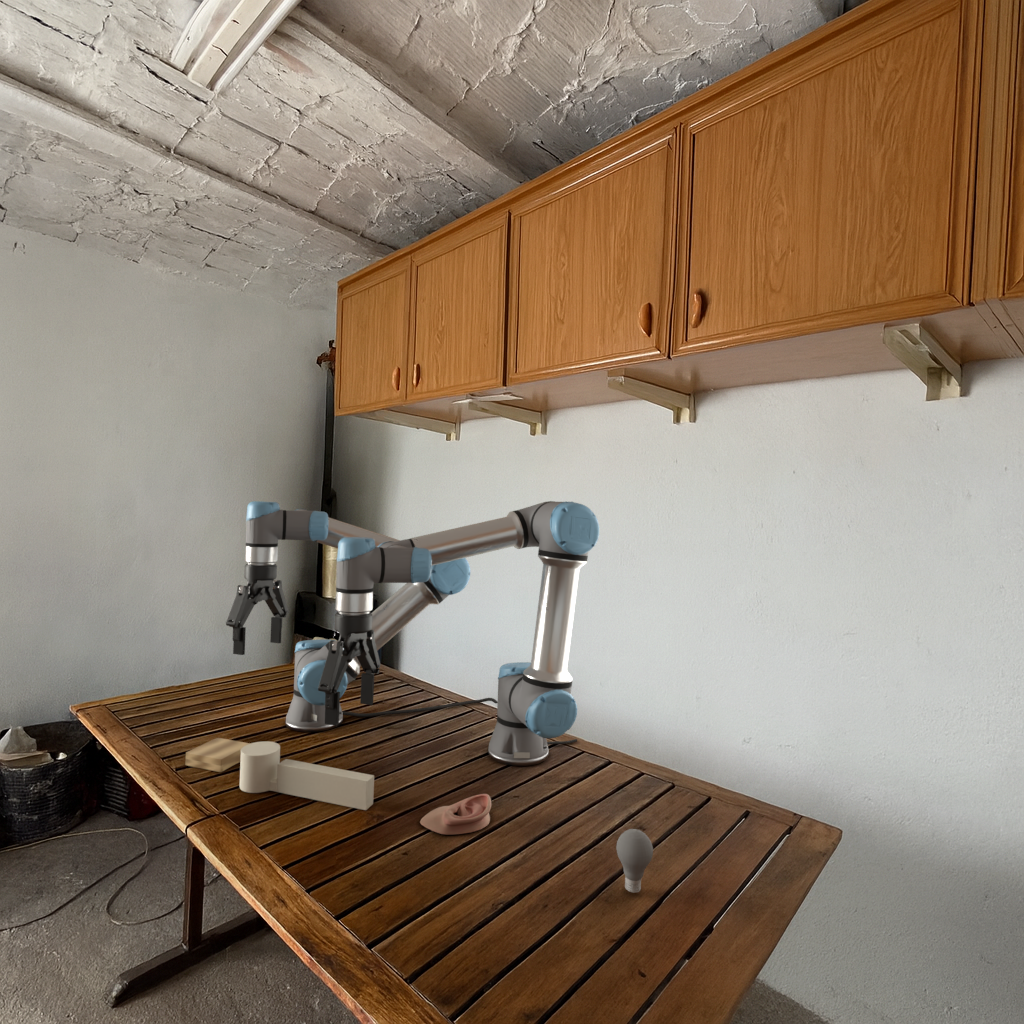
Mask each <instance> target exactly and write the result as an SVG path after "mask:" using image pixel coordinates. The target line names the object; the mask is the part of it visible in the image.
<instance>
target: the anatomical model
mask: <svg viewBox="0 0 1024 1024" xmlns="http://www.w3.org/2000/svg"><path fill="white" fill-rule="evenodd" d="M491 809H492V798H491V796H490V795H489V794H488V793H479V794H476V795H472V796H469V797H467V798H463V799H462V800H460V801H457V802H455V803H453V804H450V805H442V806H439V807H437V808H434V809H432V810H430V811H429V812H428V813H426V814H425V815H424V816H423V817H422V818H421V819H420V821H419V823H420V825H421V826H423V827H424V828H426V829H428V830H430V831H432V832H433V833H434V832H435V833H437V834H441V835H446V836H448V835H449V836H450V835H463V834H469V833H473V832H477V831H480V830H483V829H484V828H485V827H487V826H488V825H489V824H490V822H491V815H490V811H491Z"/></svg>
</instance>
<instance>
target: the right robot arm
mask: <svg viewBox="0 0 1024 1024" xmlns="http://www.w3.org/2000/svg"><path fill="white" fill-rule="evenodd" d="M600 530H601V529H600V524H599V520H598V517H597V515H596V514H595V513H594V511H593V510H592V509H591V508H590V507H588V506H586V505H585V504H582V503H579V502H575V501H554V500H550V501H543V502H540V503H537V504H533V505H529V506H526V507H524V508H520V509H517V510H512V511H509V512H508V513H507V514H506V516H503V517H498V518H495V519H491V520H486V521H481V522H477V523H471V524H468V525H464V526H460V527H459V526H458V527H454V528H451V529H445V530H440V531H436V532H432V533H428V534H422V535H419V536H414V537H410V538H406V539H400V541H396V542H392V541H388V542H384V543H381V544H380V545H379V546H377V547H376V545H375V540H374V539H373V538H366V537H345V538H342V539H341V540H340V541H339V543H338V548H337V555H336V572H335V573H336V575H335V576H336V577H335V607H334V608H335V611H337V612H336V613H334V631H335V632H337V633H338V634H339V637H338V640H337V641H333V640H331V641H330V643H329V652H328V656H327V659H326V663H325V666H324V669H323V673H322V676H321V680H320V683H319V687H318V691H322V692H325V724H329V725H335V726H337V725H339V703H340V704H341V702H340V699H341V698H340V692H337V690H338V688H339V685H340V683H341V680H342V678H343V676H344V673H345V671H346V668H347V666H348V664H349V663H350V662H351V661H352V659H353V658H355V657H357V659H358V661H359V663H360V665H361V666H360V667H361V669H362V670H363V673H361V674H360V675H361V677H360V678H361V679H360V704H361V705H368V706H372V705H374V692H375V686H374V685H375V675H378V674H380V668H381V660H380V656H379V651H377V648H376V643H375V638H374V630H371V629H372V614H371V613H372V612H371V611H373V608H374V585H375V584H382V583H383V584H406V583H413V584H414V583H420V582H426V581H428V580H429V578H430V576H431V571H432V566H433V565H437V564H441V563H446V562H450V561H454V560H458V559H462V558H466V559H467V558H470V557H474V556H475V557H476V556H479V555H482V554H487V553H490V552H496V551H499V550H503V549H507V548H515V549H517V550H521V549H525V548H538V552H537V557H538V559H539V560H540V561H541V562H542V573H541V579H540V588H539V596H538V602H537V603H538V604H537V611H536V621H535V627H534V635H533V643H532V652H531V660H530V662H528V661H527V662H525V661H523V662H522V661H521V662H508V663H505V664H502V665H501V666H500V667H499V671H498V677H497V682H498V683H497V702H498V703H496V705H497V706H496V707H497V708H496V724H495V726H494V729H493V732H492V734H491V737H490V741H488V742H489V743H488V750H487V753H488V756H489V757H490V758H491V759H492V760H494V761H495V762H498V763H500V764H504V765H507V766H515V767H529V766H534V765H535V766H536V765H538V764H542V763H543V762H545V761H546V760H548V758H549V745H568V744H573V743H577V742H578V739H577V738H575V739H570V740H564V741H563V740H562V741H561V740H560V741H559V740H558V741H556V740H555V741H548V740H549V739H557V738H558V737H561V736H563V735H564V734H565V733H567V731H569V730H570V729H571V728H572V727H573V725H574V724H575V721H576V720H577V716H578V705H577V701H576V700H575V697H574V696H573V694H572V689H573V687H572V686H573V676H572V675H571V673H570V672H569V670H568V665H569V657H570V650H571V641H572V634H573V633H572V632H573V626H574V619H575V618H574V617H575V610H576V609H575V608H576V601H577V593H578V592H577V591H578V586H579V585H578V584H579V578H580V577H579V576H580V570H581V568H582V567H583V566H585V565H586V564H587V563H588V560H589V559H588V558H589V553H590V551H592V549H593V548H594V547H596V546H597V543H598V541H599V538H600ZM342 655H343V656H342ZM339 726H340V725H339ZM337 727H338V726H337ZM547 739H548V740H547Z"/></svg>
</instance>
